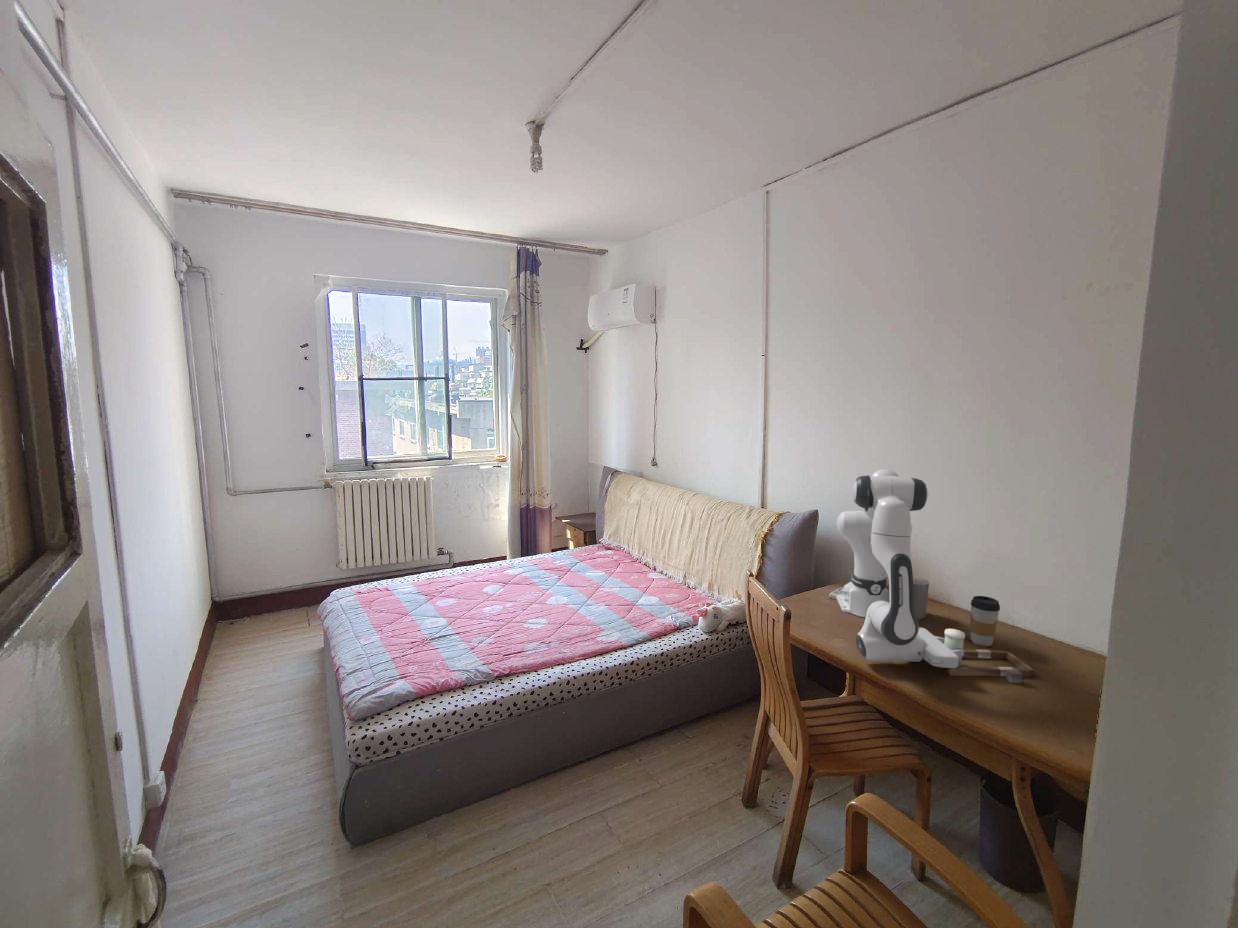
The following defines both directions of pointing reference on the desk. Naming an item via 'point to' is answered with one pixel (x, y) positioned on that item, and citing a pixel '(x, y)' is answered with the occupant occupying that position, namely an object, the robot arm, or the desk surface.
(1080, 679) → the desk surface
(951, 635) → the mint green tumbler
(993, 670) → the beam slot
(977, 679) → the desk surface
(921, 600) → the pillar candle
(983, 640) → the coffee cup
